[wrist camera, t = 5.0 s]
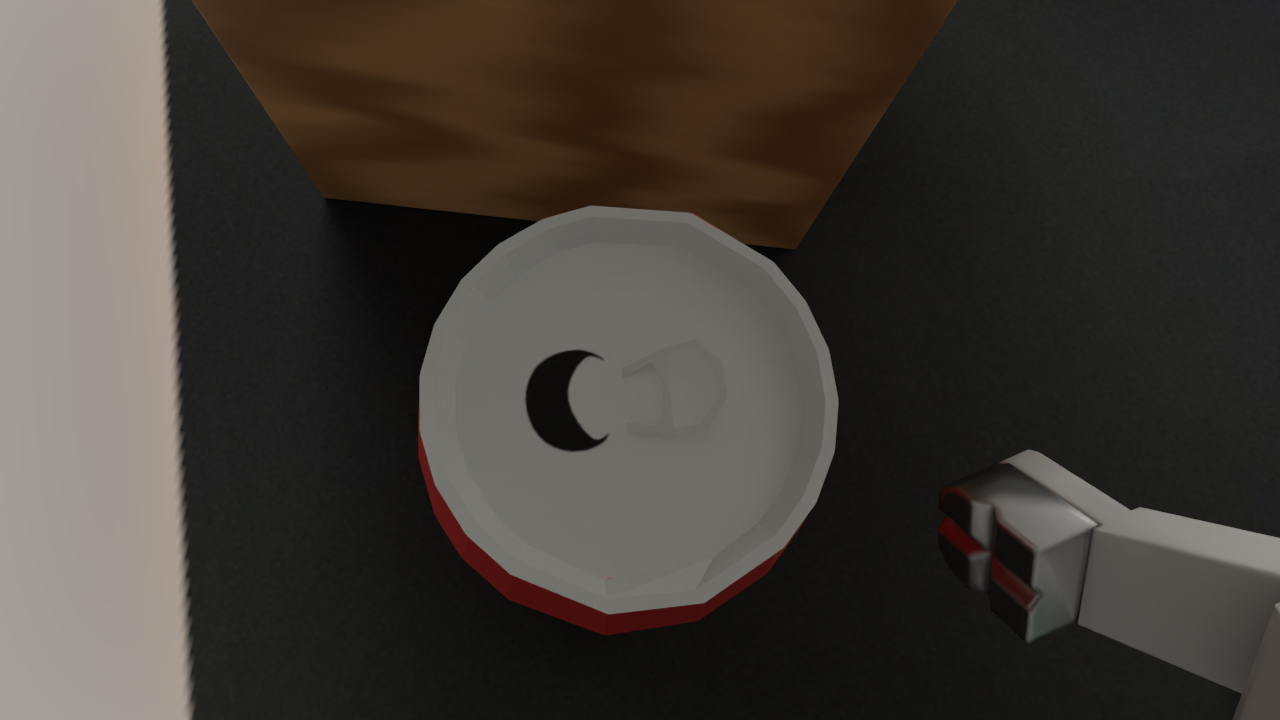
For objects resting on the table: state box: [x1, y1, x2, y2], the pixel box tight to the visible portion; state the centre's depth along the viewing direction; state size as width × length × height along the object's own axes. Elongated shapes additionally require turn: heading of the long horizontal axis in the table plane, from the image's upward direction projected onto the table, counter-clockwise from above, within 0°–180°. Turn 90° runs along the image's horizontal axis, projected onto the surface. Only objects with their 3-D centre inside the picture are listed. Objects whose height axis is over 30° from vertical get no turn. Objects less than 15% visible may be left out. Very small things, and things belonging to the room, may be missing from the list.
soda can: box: [418, 206, 839, 636], centre depth 13 cm, size 6×6×12 cm
